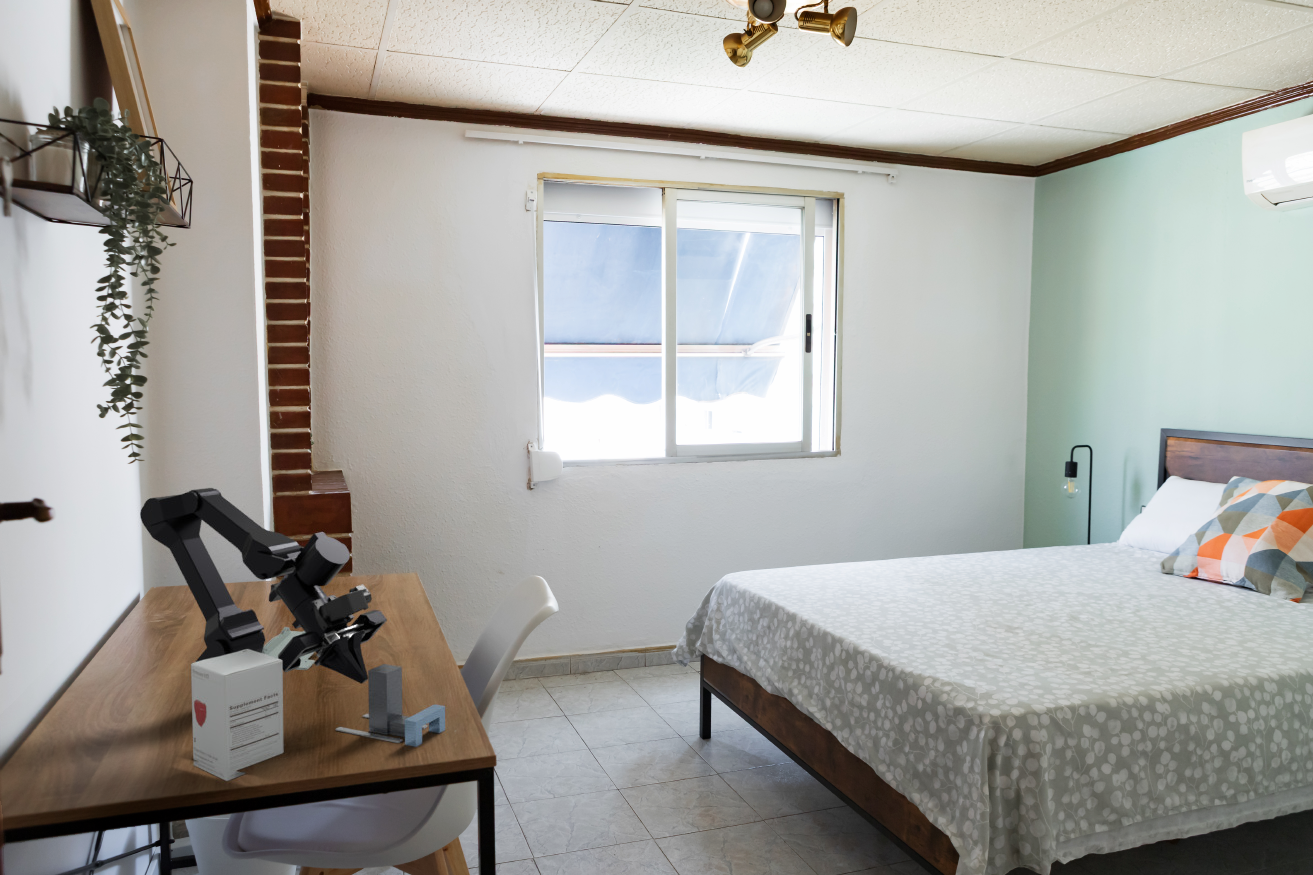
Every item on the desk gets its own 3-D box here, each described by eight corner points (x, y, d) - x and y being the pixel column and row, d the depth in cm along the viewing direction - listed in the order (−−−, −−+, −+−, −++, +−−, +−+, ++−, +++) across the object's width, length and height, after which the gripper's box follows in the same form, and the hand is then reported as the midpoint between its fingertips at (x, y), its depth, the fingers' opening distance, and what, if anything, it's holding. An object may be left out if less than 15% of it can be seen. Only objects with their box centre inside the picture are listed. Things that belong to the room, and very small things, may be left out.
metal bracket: (275, 620, 182) (341, 624, 179) (281, 644, 184) (346, 648, 181) (231, 659, 169) (301, 664, 166) (237, 684, 171) (307, 690, 168)
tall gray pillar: (369, 731, 135) (368, 670, 134) (384, 723, 138) (383, 663, 138) (408, 739, 132) (408, 676, 132) (423, 730, 135) (422, 670, 135)
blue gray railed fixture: (333, 737, 135) (332, 706, 135) (366, 720, 142) (366, 691, 142) (415, 754, 129) (414, 722, 129) (446, 735, 136) (445, 705, 136)
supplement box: (190, 766, 125) (188, 662, 124) (250, 745, 132) (248, 647, 131) (225, 782, 120) (223, 674, 119) (285, 759, 127) (284, 658, 126)
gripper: (290, 584, 130) (350, 666, 126) (376, 561, 147) (432, 633, 143) (252, 631, 133) (309, 713, 129) (340, 603, 150) (393, 675, 147)
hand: (365, 681), depth 137 cm, fingers closed
